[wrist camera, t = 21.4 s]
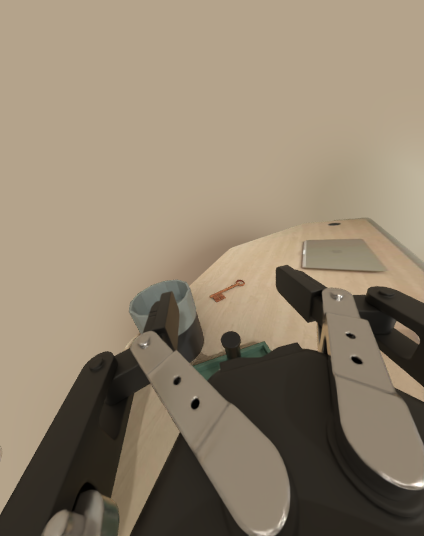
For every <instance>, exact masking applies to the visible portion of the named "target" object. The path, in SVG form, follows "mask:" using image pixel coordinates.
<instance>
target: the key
mask: <svg viewBox="0 0 424 536" xmlns="http://www.w3.org/2000/svg"><path fill="white" fill-rule="evenodd" d="M238 281H242V280H237V281H236V284H234V285H232V286H230V287H228V288H226V289H224V290H221V291H219V292H217V293H215V294H213V295H211V296H210V298H212V297H213V298H214V300H215V301H216V302H218V301H220V300H222V299H224V298H225V297H224V296H223V295H222V294H221V293H222V292H224V291H226V290H228V289H231V288H233V287H235V286H237V285H239V286H243V285H244V284H245V282H244V281H242V282H243V283H244V284H240V283H237V282H238ZM214 296H215V297H214ZM217 296H218V297H219V298H220V299H219V298H218V297H217ZM223 297H224V298H223ZM217 300H218V301H217Z"/></svg>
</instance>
